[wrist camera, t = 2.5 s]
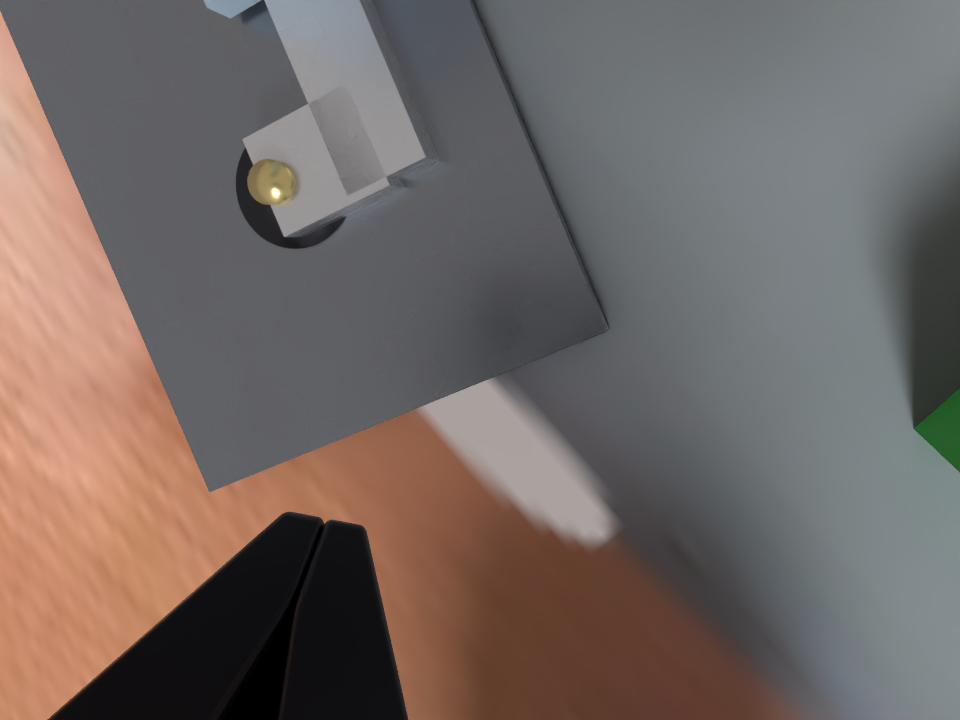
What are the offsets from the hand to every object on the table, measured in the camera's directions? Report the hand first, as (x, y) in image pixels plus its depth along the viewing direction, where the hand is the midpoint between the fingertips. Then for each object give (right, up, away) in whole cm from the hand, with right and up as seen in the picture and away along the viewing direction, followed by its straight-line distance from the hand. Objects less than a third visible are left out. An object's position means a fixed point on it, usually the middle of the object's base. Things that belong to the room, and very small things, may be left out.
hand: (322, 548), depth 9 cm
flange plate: (-5, +11, +12) cm, 17 cm away
